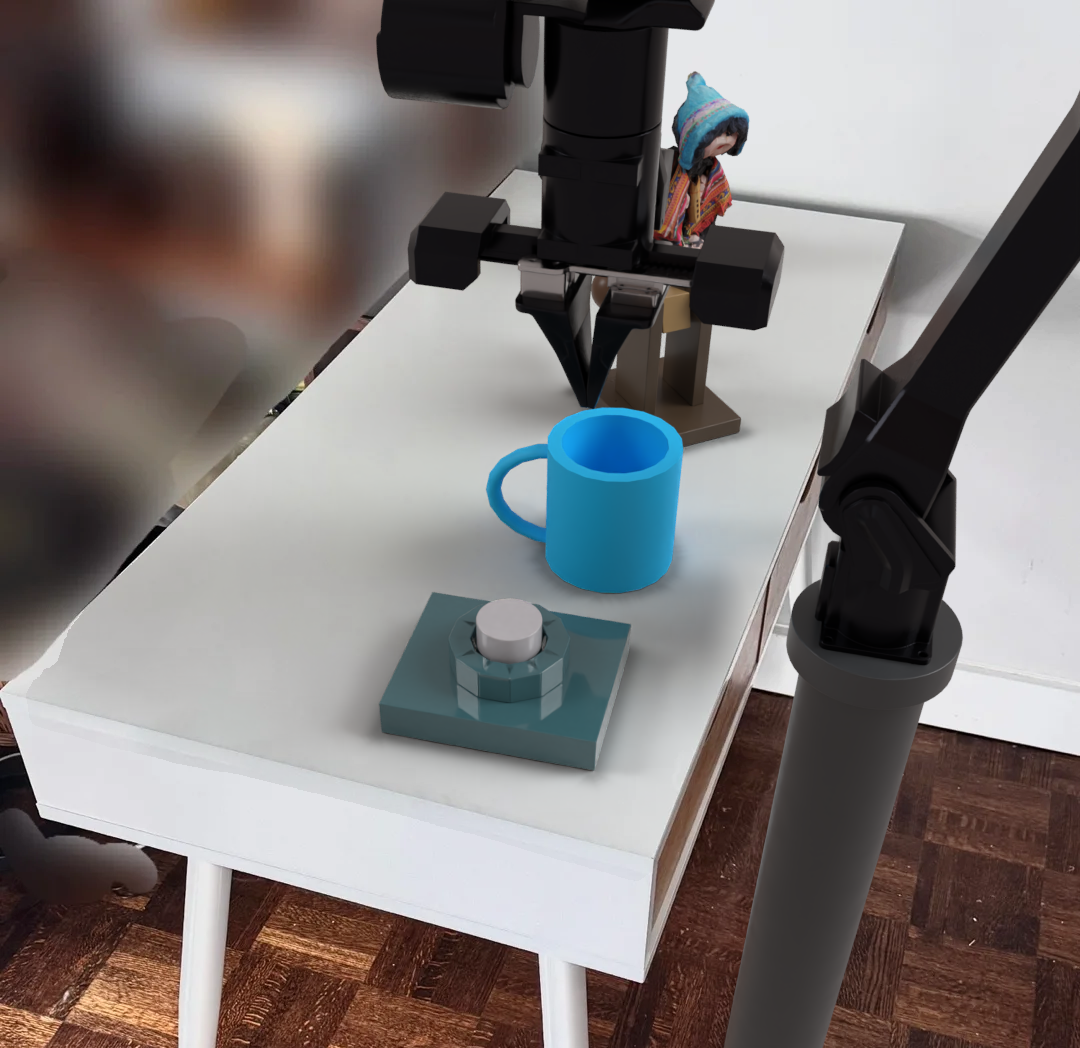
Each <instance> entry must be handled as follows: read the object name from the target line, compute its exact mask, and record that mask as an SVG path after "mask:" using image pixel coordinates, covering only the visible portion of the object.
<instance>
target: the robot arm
mask: <svg viewBox="0 0 1080 1048" xmlns="http://www.w3.org/2000/svg"><path fill="white" fill-rule="evenodd" d="M715 2H716V0H382V5H381V17H380V30H379V31H378V32H377V33H376V38H375V45H376V58H377V67H378V72H379V73H378V74H379V78H380V82H381V84H382V87H383V89H384V92H385V93H386V95H387V96H388V97H389V98H391V99H396V100H406V101H416V102H424V103H425V102H426V103H435V104H443V105H444V104H446V105H453V106H454V105H456V106H466V107H475V108H485V109H496V110H506V109H507V108H508V107H509V105H510V103H511V101H512V99H513V96H514V92H515V89H516V88H518V89H529V88H531V86H532V84H533V82H534V79H535V76H536V71H537V65H538V60H539V50H540V39H541V29H540V27H541V26H540V25H541V23H540V17H542V18H543V68H542V69H543V73H542V74H543V75H542V76H543V79H542V81H543V82H542V83H543V84H542V136H541V137H542V138H541V139H542V140H541V144H540V151H539V152H538V154H537V176H538V177H539V178H540V180H541V201H540V202H541V203H540V204H541V205H540V206H541V208H540V209H541V210H540V212H541V213H540V222H541V223H540V228H539V227H531V226H523V225H518V224H517V225H515V224H511V208H510V206H509V203H508V202H507V199H506V198H499V197H492V196H485V195H477V194H476V195H475V194H468V193H459V192H453V191H444V192H442V194H441V195H440V196H439V197H438V198H437V199H436V200H435V201H434V202H433V203H432V204H431V206H430V207H429V208H428V210H427V211H426V213H425V214H424V215H423V216H422V217H421V219H420V220H419V221H418V222H417V224H416V225H415V226H414V227H413V229H412V230H411V232H410V234H409V239H408V245H407V262H408V263H407V264H408V276H409V277H408V279H410V281H412V282H413V283H414V284H415V285H418V286H419V285H420V286H427V287H433V288H441V289H449V290H455V291H461V292H463V291H465V290H467V288H469V286H470V285H472V284H473V283H474V282H475V281H476V280H478V278H479V277H480V275H481V274H482V272H481V270H482V268H481V267H482V266H481V265H482V263H481V262H488V263H494V264H502V265H511V266H516V267H517V270H518V271H519V272H520V275H519V276H520V277H519V279H520V282H519V283H520V285H519V287H520V288H519V289H520V290H519V292H518V294H517V296H516V297H515V299H514V307H515V309H516V311H517V312H519V313H521V314H526V315H527V314H528V315H530V316H532V318H533V320H534V321H535V322H536V324H537V326H538V327H539V329H540V330H541V332H542V334H543V335H544V337H545V339H546V340H547V342H548V344H549V345H550V347H551V348H552V350H553V352H554V354H555V355H556V357H557V359H558V361H559V364H560V365H561V367H562V370H563V372H564V375H565V376H566V379H567V381H568V383H569V385H570V387H571V390H572V392H573V394H574V396H575V398H576V401H577V402H578V405H579V407H580V408H582V409H583V408H585V409H588V410H591V409H596V408H595V407H596V404H597V402H598V400H599V397H600V395H601V392H602V390H603V387H604V385H605V382H606V380H607V377H608V375H609V372H610V370H611V369H612V367H613V365H614V362H615V360H616V358H617V353H618V352H619V350H620V348H621V347H622V345H623V343H624V342H625V340H626V339H627V337H628V335H629V334H630V332H631V330H633V329H649V328H651V327H652V326H653V325H654V323H655V321H656V318H657V316H658V314H659V311H660V309H661V306H662V304H663V302H664V299H665V297H666V295H667V292H668V290H669V287H670V286H675V287H683V288H690V289H691V292H690V302H689V307H690V309H691V310H692V311H693V312H694V313H695V315H696V316H697V317H698V318H699V319H700V321H701V322H702V323H703V324H709V325H712V326H717V327H726V328H733V329H739V330H746V331H754V332H755V331H757V330H761V329H764V328H767V327H768V324H769V321H770V317H771V315H772V312H773V311H772V310H773V308H774V307H773V306H774V303H775V301H776V297H777V294H778V292H779V291H778V290H779V287H780V284H781V278H782V272H783V271H782V270H783V264H784V258H785V257H784V256H785V245H784V243H783V242H782V240H781V239H780V237H779V236H778V234H777V232H775V231H765V230H757V229H749V228H742V227H733V226H725V225H717V224H715V225H710V228H709V230H708V233H707V235H706V238H705V240H704V243H703V245H702V248H701V249H697V248H689V247H681V246H674V245H673V244H672V243H671V242H668V241H661V240H653V233H654V230H659V231H660V230H661V227H662V225H663V223H664V220H665V211H666V208H667V200H668V193H669V185H670V177H671V170H672V162H673V155H674V150H673V149H667V148H663V147H662V135H663V134H662V128H663V127H662V126H663V112H664V111H663V110H664V97H665V85H666V84H665V83H666V71H667V57H668V45H669V34H670V33H669V31H670V29H671V30H683V31H691V32H698V31H700V30H702V29H703V28H704V27H705V25H706V23H707V20H708V18H709V16H710V14H711V11H712V9H713V8H714V5H715ZM1079 263H1080V90H1079V91H1078V93H1077V95H1076V97H1075V100H1074V102H1073V104H1072V106H1071V107H1070V109H1069V111H1068V112H1067V114H1066V115H1065V117H1064V118H1063V120H1062V121H1061V123H1060V125H1059V126H1058V127H1057V129H1056V130H1055V132H1054V133H1053V135H1052V136H1051V138H1050V139H1049V141H1048V142H1047V144H1046V145H1045V147H1044V148H1043V150H1042V151H1041V153H1040V155H1039V156H1038V157H1037V159H1036V160H1035V162H1034V163H1033V165H1032V166H1031V168H1030V169H1029V171H1028V172H1027V174H1026V175H1025V177H1024V178H1023V180H1022V181H1021V183H1020V185H1018V188H1017V189H1016V191H1015V192H1014V194H1013V195H1012V196H1011V198H1010V200H1009V201H1008V203H1007V204H1006V206H1004V209H1003V210H1002V212H1001V213H1000V215H999V216H998V218H997V219H996V221H995V222H994V224H993V225H992V226H991V228H990V230H989V231H988V233H987V234H986V235H985V238H984V239H983V240H982V242H981V243H980V245H979V246H978V248H977V249H976V251H975V252H974V254H973V255H972V257H971V259H970V260H969V261H968V263H967V265H966V266H965V267H964V269H963V270H962V272H961V273H960V275H959V276H958V278H957V279H956V281H955V282H954V284H953V285H952V287H951V288H950V290H949V292H948V293H947V294H946V296H945V298H943V300H942V302H941V304H940V305H939V307H938V308H937V309H936V311H935V313H934V314H933V315H932V317H931V318H930V320H929V321H928V323H927V324H926V326H925V328H924V329H923V331H922V332H921V334H920V335H919V337H918V339H917V340H916V341H915V342H914V344H913V346H912V347H911V348H910V349H909V351H907V353H906V354H905V355H903V356H902V357H900V358H899V359H897V360H896V361H895V362H893V363H892V364H890V365H889V366H887V367H886V368H884V369H882V370H881V369H880V368H878V367H877V366H876V365H874V364H873V363H871V362H870V361H868V359H866V358H861V359H860V360H859V361H858V364H857V366H856V369H855V370H854V373H853V375H852V378H851V381H850V383H849V385H848V387H847V389H846V391H845V392H844V394H842V396H841V397H840V398H839V399H838V400H837V401H836V402H835V403H833V404H832V405H830V406H829V407H827V409H826V410H825V415H824V416H825V417H824V424H823V430H822V437H821V443H820V449H819V450H820V451H819V456H818V463H817V469H816V474H817V476H819V477H821V480H820V487H819V493H818V503H817V507H818V509H819V512H820V515H821V518H822V520H823V522H824V523H825V524H826V525H827V527H828V528H829V529H830V530H831V532H832V533H834V534H835V535H837V536H838V537H839V540H830V541H829V542H828V543H827V547H826V551H825V556H824V561H823V566H822V571H821V577H820V579H821V581H820V586H819V591H818V596H817V603H816V610H815V618H816V620H817V621H821V629H820V636H819V646H820V647H821V648H822V649H825V650H830V651H836V652H842V653H849V654H855V655H861V656H867V657H873V658H879V659H886V660H892V661H898V662H904V663H910V664H916V665H928V664H929V663H930V661H931V658H932V645H933V630H934V627H935V623H936V620H937V616H938V613H939V609H940V606H941V602H942V600H944V599H943V598H944V595H945V591H946V589H947V585H948V581H949V577H950V575H951V574H952V573H953V571H954V570H955V568H956V567H957V566H956V564H957V563H956V560H957V558H956V556H957V499H958V497H957V494H958V493H957V489H958V488H957V487H958V481H957V477H956V476H955V475H954V474H953V472H952V471H951V470H950V466H951V463H952V461H953V458H954V455H955V452H956V449H957V446H958V444H959V442H960V438H961V436H962V433H963V431H964V427H965V424H966V422H967V420H968V417H969V415H970V413H971V411H972V410H973V408H974V407H975V405H976V404H977V403H978V402H979V400H980V398H982V396H983V395H984V393H985V392H986V390H987V389H988V388H989V386H990V385H991V383H992V382H993V381H994V380H995V378H996V377H997V375H998V374H999V372H1000V371H1001V370H1002V369H1003V367H1004V365H1005V364H1006V363H1007V361H1008V360H1009V359H1010V357H1011V356H1012V355H1013V353H1014V352H1015V351H1016V350H1017V348H1018V346H1019V345H1020V344H1021V343H1022V341H1023V340H1024V338H1026V336H1027V334H1028V333H1029V331H1030V330H1031V329H1032V327H1033V326H1034V324H1035V323H1036V322H1037V320H1038V319H1040V316H1041V315H1042V314H1043V312H1044V311H1045V310H1046V308H1047V307H1048V306H1049V304H1050V303H1051V301H1052V300H1053V299H1054V298H1055V296H1056V295H1057V293H1058V292H1059V291H1060V289H1061V287H1062V286H1063V285H1064V284H1065V283H1066V281H1067V280H1068V278H1069V277H1070V275H1071V274H1072V273H1073V271H1075V268H1076V267H1077V266H1078V264H1079ZM593 276H594V277H595V276H600V277H607V278H608V281H607V287H609V290H608V292H607V294H606V296H605V298H604V300H603V302H602V304H601V306H600V308H599V307H598V310H597V312H596V314H595V317H594V318H595V319H594V327H593V335H592V317H591V316H592V315H591V297H592V294H591V286H592V282H593ZM923 657H924V658H923Z"/></svg>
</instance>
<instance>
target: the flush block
mask: <svg viewBox="0 0 1080 1048" xmlns="http://www.w3.org/2000/svg"><path fill="white" fill-rule="evenodd" d="M492 601H493V600H486V599H478V598H474V597H466V596H461V595H454V594H448V593H443V592H435V591H432V592H431V594H430V596H429V598H428V600H427V601H426V605H425V606H424V608H423V611H422V613H421V615H420V617H419V619H418V621H417V623H416V625H415V627H414V630H413V632H412V633H411V636H410V637H409V639H408V641H407V644H406V646H405V648H404V650H403V653H402V654H401V657H400V659H399V661H398V663H397V664H396V667H395V669H394V671H393V672H392V675H391V678H390V680H389V682H388V684H387V686H386V687H385V690H384V692H383V694H382V697H381V699H380V701H379V703H378V708H379V718H380V729H381V730H380V731H381V733H382V734H383V733H384V734H390V735H395V736H400V737H404V738H405V737H406V738H412V739H417V740H421V741H422V740H423V741H427V742H428V741H429V742H433V743H438V744H439V743H440V744H444V745H449V746H455V747H460V748H466V749H471V750H477V751H483V752H489V753H494V754H500V755H504V756H510V757H516V758H521V759H527V760H532V761H537V762H538V761H539V762H543V763H548V764H549V763H550V764H554V765H555V764H556V765H560V766H565V767H571V768H576V769H582V770H589V771H592V772H593V771H596V767H597V764H598V762H599V761H598V760H599V756H600V755H601V750H602V747H603V743H604V740H605V737H606V733H607V729H608V727H609V722H610V719H611V716H612V713H613V709H614V705H615V702H616V698H617V695H618V692H619V689H620V685H621V681H622V678H623V675H624V671H625V668H626V664H627V662H628V658H629V654H630V649H631V648H630V647H631V634H632V624H631V623H627V622H620V621H615V620H607V619H602V618H596V617H590V616H584V615H578V614H572V613H565V612H559V611H553V610H548V609H547V608H545V607H544V606H542V605H540V604H538V603H531V602H530V603H531V604H532V605H534V606H535V607H536V608H537V609H538V610H539V611H540V613H541V615H542V646H541V649H540V651H539V652H538V653H537V654H536V656H534V657H533V658H531V659H530V660H528V661H524V662H518V663H513V664H506V663H500V662H494V661H491V660H489V659H487V658H485V657H484V656H483V655H482V654H481V653H480V651H479V650H478V648H477V641H476V616H477V614H478V612H479V610H480V609H481V608H482V607H483V606H484V605H486V604H488V603H489V602H492Z"/></svg>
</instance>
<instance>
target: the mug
mask: <svg viewBox="0 0 1080 1048" xmlns="http://www.w3.org/2000/svg"><path fill="white" fill-rule="evenodd" d="M683 458H684V447H683V444H682V438H681V437H680V435H679V434H678V433H677V431H676V430H675V428H674V427H672V426H671V425H670V424H668V423H667V422H665V421H664V420H662V419H661V418H658V417H656V416H653V415H651V414H648V413H646V412H643V411H637V410H632V409H626V408H597V409H596V408H595V409H584V410H581V411H578V412H576V413H573V414H570V415H568V416H566V417H564V418H563V419H561V420H560V421H559V422H557V423H556V424H554V425H553V427H552V428H551V431H550V432H549V434H548V436H547V443H536V444H531V445H527V446H523V447H520V448H517V449H515V450H513V451H511V452H510V453H508V454H506V455H505V456H503V457H501V458H500V459H499V460H498V461H497V462H496V464H495V465H494V466H493V468H491V470H490V472H489V473H488V478H487V483H486V487H485V491H486V496H487V500H488V504H489V508H491V510H492V511H493V512H494V514H495V515H496V517H497V518H498V519H499V521H500V522H502V523H503V524H504V525H505V526H507V527H508V528H509V529H511V530H512V531H513V532H515V533H517V534H518V535H521V536H523V537H525V538H527V539H529V540H532V541H534V542H539V543H543V544H545V554H544V555H545V556H544V558H545V560H546V562H547V564H548V566H549V568H550V571H552V572H553V573H554V574H555V575H557V576H558V577H559V578H560V579H561V580H562V581H564V582H566V583H568V584H570V585H572V586H574V587H576V588H578V589H581V590H586V591H590V592H591V591H592V592H595V593H600V594H622V593H623V594H624V593H628V592H633V591H640V590H642V589H644V588H647V587H649V586H651V585H653V584H655V583H657V582H658V581H660V579H661V578H662V577H663V576H665V575H666V574H667V573H668V571H669V568H670V566H671V564H672V562H673V557H674V555H673V554H674V547H675V546H674V545H675V535H676V525H677V517H678V508H679V507H678V506H679V496H680V486H681V477H682V466H683ZM545 459H546V499H545V500H546V503H545V506H546V507H545V527H543V526H540V525H538V524H535V523H533V522H530V521H528V520H526V519H524V518H523V517H521V515H519V514H517V513H516V512H515V511H513V510H512V509H511V507H510V506H509V504H508V503H507V502H506V500H505V498H504V495H503V490H502V486H503V482H504V479H505V477H506V476H507V475H508V474H509V473H510V471H511V470H513V469H515V468H516V467H518V466H520V465H521V464H523V463H524V464H525V463H528V462H531V461H532V462H533V461H536V460H545Z"/></svg>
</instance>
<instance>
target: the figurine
mask: <svg viewBox="0 0 1080 1048" xmlns="http://www.w3.org/2000/svg"><path fill="white" fill-rule="evenodd" d="M685 85H686V89H687V95H686V99H685V100H684V101H683V102H682V103H681V105H680V106H679V107H678V109H677V110H676V114H675V115H674V116H673V121H672V125H671V131H672V134H673V136H674V139H675V140H674V141H675V144H676V145H671V146H670V147H668V148H667V147H666V149H673V150H674V155H673V162H672V170H671V177H670V185H669V193H668V200H667V208H666V211H665V220H664V223H663V225H662V227H661V230H660V231H659V230H654V233H653V240H661V241H668V242H671V243H672V244H673V245H674V246H681V247H689V248H697V249H701V248H702V245H703V243H704V240H705V238H706V235H707V233H708V230H709V228H710V225H716V221H717V218H718V217H722V218H724V216H726V212H727V210H728V209H730V208H731V207H732V206H733V203H732V202H733V198H732V192H731V187H730V183H729V180H728V178H727V176H726V174H725V171H724V169H723V166H722V164H721V162H720V160H719V159H718V158H717V156H724V155H725V154H727V155H728V156H730V157H738V156H739V155H740V154H742V151H743V149H744V147H745V144H746V142H747V141H748V136H749V129H750V116H749V114H748V112H747V111H746V110H745V109H744V108H741V107H739V106H737V105H736V104H734V103H732V102H731V101H730V100H728V99H727V98H724V97H723V96H722V94H720V92H719V91H717V89H715V88H713V87H712V86H709V85H707V83H706V80H705V78H704V77H703V76H702V74H701V73H700V72H698V71H696V70H694V71H692V72H690V73H689V74H688V75H687V79H686V81H685Z"/></svg>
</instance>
